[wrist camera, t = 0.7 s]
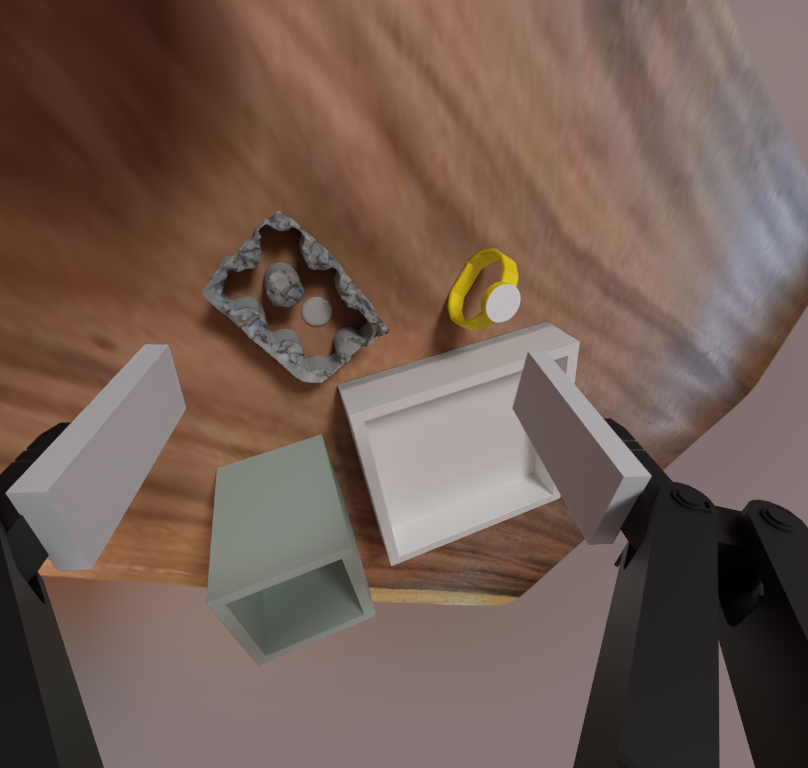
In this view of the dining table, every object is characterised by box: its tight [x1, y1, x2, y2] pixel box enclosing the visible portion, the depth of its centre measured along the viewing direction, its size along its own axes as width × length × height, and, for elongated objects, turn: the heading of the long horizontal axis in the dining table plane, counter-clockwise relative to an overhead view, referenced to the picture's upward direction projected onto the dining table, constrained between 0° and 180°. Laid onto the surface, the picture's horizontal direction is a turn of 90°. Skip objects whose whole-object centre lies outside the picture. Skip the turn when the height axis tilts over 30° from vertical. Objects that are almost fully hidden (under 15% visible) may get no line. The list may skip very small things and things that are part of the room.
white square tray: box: [338, 322, 580, 566], centre depth 39 cm, size 20×20×4 cm
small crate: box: [206, 434, 376, 665], centre depth 32 cm, size 9×9×12 cm
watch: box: [448, 248, 521, 331], centre depth 30 cm, size 6×3×6 cm, turn 150°
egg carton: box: [202, 211, 389, 383], centre depth 27 cm, size 11×8×4 cm
